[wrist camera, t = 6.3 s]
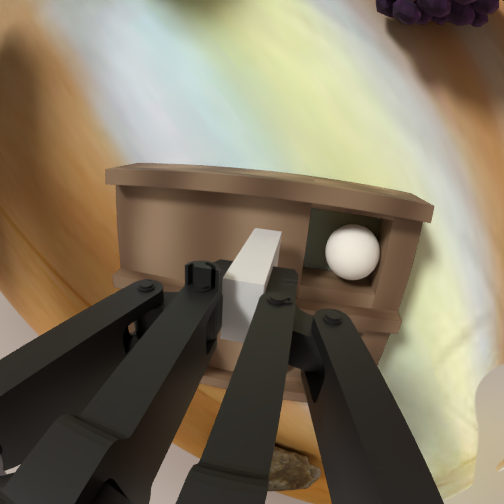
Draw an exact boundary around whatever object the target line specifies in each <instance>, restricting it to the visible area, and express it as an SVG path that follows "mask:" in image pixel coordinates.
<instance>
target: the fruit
mask: <svg viewBox="0 0 504 504" xmlns="http://www.w3.org/2000/svg"><path fill="white" fill-rule="evenodd" d="M503 1H504V0H503ZM376 7H377V12H379V13H382V14H384V15H386V16H388V17H395V18H396V19H398V20H399V21H400V22H402V23H403V24H408V25H413V24H414V23H416V24H423V25H425V24H427V23H428V22H429V21H430V20H431V21H433V22H435V23H437V24H439V25H442V24H444V23H445V22H447V21H449V22H451V23H453V24H455V25H468V24H471V25H472V26H474V27H481V26H482V25H483V24H485V23H486V22H488V16H487V14H493V13H494V12H495V11H496V10H497V9H498V8H499V0H376Z"/></svg>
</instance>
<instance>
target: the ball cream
mask: <svg viewBox="0 0 504 504" xmlns="http://www.w3.org/2000/svg"><path fill="white" fill-rule="evenodd" d="M325 253H326V260H327V263H328V265H329V267H330V268H331V270H332V271H333V272H334V273H335V274H337V275H338V276H340V277H341V278H344V279H348V280H358V279H362V278H364V277H366V276H367V275H369V274H370V273H371V272H372V271H373V270H374V269H375V267H376V266H377V264H378V261H379V257H380V247H379V243H378V241H377V238H376V237H375V235H374V234H373V233H372V232H371V231H370V230H369V229H367V228H366V227H364V226H361V225H358V224H348V225H344V226H341V227H340V228H338V229H336V230H335V231H334V232H333V233H332V234H331V236H330V237H329V239H328V241H327V244H326V250H325Z"/></svg>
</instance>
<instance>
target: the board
mask: <svg viewBox="0 0 504 504" xmlns="http://www.w3.org/2000/svg"><path fill="white" fill-rule="evenodd" d="M105 176H106V184H108V185H116V207H117V227H118V241H119V253H120V264H121V269H119V270H118V271H117V272H115V273H114V274H113V275H112V276H113V284H114V287H116V288H120V289H123V288H125V287H127V286H128V285H130V284H132V283H134V282H136V281H139V280H144V279H152V280H156V281H159V282H161V283H162V285H163V289H164V292H179V291H180V290H181V289H182V288H183V287H184V285H185V264H187V263H189V262H192V261H200V260H201V261H209V262H215V261H217V260H220V259H223V260H230V261H234V260H235V258H236V257H237V255H238V253H239V252H240V250H241V249H242V247H243V246H244V244H245V243H246V241H247V240H248V238H249V236H250V235H251V233H252V232H253V230H254V229H255V228H259V229H267V230H274V231H281V232H282V234H281V242H280V250H279V259H278V267H282V268H289V269H295V271H296V272H297V274H298V283H297V292H296V301H295V302H296V305H297V307H298V308H299V309H300V310H302V311H303V312H305V313H308V314H310V315H313V316H314V314H315V313H316V311H318V310H320V309H327V308H329V309H337V310H340V311H342V312H343V313H345V314H347V315H348V316H349V318H350V319H351V320H352V322H353V324H354V326H355V327H356V329H357V331H358V333H359V334H360V336H361V338H362V340H363V342H364V343H365V345H366V347H367V349H368V351H369V352H370V354H371V356H372V358H373V360H374V361H375V363H376V365H378V362H379V360H380V358H381V355H382V353H383V350H384V348H385V345H386V343H387V340H388V337H389V335H390V333H396V334H397V333H398V331H399V328H400V325H401V323H402V320H401V317H400V315H399V313H398V310H399V307H400V304H401V301H402V298H403V294H404V291H405V288H406V285H407V281H408V278H409V275H410V271H411V268H412V264H413V260H414V257H415V253H416V249H417V245H418V241H419V237H420V232H421V228H422V223H423V222H428V223H431V220H432V215H433V210H434V206H433V205H431V204H430V203H428V202H426V201H424V200H422V199H421V198H419V197H417V196H415V195H413V194H411V193H406V192H402V191H397V190H392V189H386V188H381V187H376V186H370V185H365V184H359V183H353V182H347V181H340V180H334V179H327V178H320V177H313V176H306V175H298V174H290V173H281V172H272V171H263V170H253V169H242V168H230V167H217V166H202V165H183V164H157V163H136V164H130V165H125V166H120V167H115V168H110V169H105ZM311 208H318V209H325V210H332V211H339V212H345V213H351V214H358V215H364V216H370V217H376V218H380V221H379V226H378V231H377V236H376V238H377V241H378V243H379V247H380V257H379V261H378V264H377V266H376V267H375V269H374V270H373V271H372V272H371V273H370V274H369V275H368V276H366V277H364V278H362V279H358V280H348V279H344V278H341V277H340V276H338V275H337V274H335V273H334V272H333V271H329V270H322V269H315V268H307V267H303V262H304V256H305V249H306V242H307V235H308V228H309V221H310V214H311ZM129 330H130V333H132V332H134V331H135V327H134V322H133V323H132V324H130V325H129ZM220 335H221V329H220V331H219V333H218V335H217V347H216V349H215V351H214V353H213V355H212V357H211V360H210V362H209V364H208V366H207V368H206V370H205V373H204V375H203V377H202V379H201V381H200V383H201V384H205V385H209V386H214V387H218V388H223V389H227V388H228V385H229V382H230V379H231V377H232V374H233V371H234V368H235V366H236V363H237V360H238V357H239V355H240V352H241V349H242V346H243V343H241V342H235V341H230V340H225V339H220ZM283 399H284V400H291V401H299V402H307V398H306V394H305V390H304V386H303V382H302V378H301V369H299V368H296V367H293V366H291V365H288V367H287V374H286V381H285V387H284V394H283ZM307 403H308V402H307Z"/></svg>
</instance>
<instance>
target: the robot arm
mask: <svg viewBox="0 0 504 504" xmlns="http://www.w3.org/2000/svg"><path fill="white" fill-rule="evenodd" d="M281 234H282V232H281V231H274V230H267V229H259V228H255V229H254V230H253V232H252V233H251V235H250V236H249V238H248V240H247V241H246V243H245V244H244V246H243V247H242V249H241V250H240V252H239V253H238V255H237V257H236V258H235V260H234V261H230V260H223V259H220V260H217V261H215V262H209V261H201V260H200V261H192V262H189V263H187V264H185V285H184V287H183V288H182V289H181V290H180V291H179V292H164V289H163V285H162V283H161V282H159V281H156V280H152V279H144V280H139V281H136V282H134V283H132V284H130V285H128V286H127V287H125V288H123V289H121V290H119V291H118V292H116V293H114V294H112V295H110V296H109V297H107V298H105V299H103V300H101V301H100V302H98V303H96V304H94V305H93V306H91V307H89V308H87V309H85V310H84V311H82V312H80V313H78V314H77V315H75V316H73V317H71V318H70V319H68V320H66V321H65V322H63V323H61V324H59V325H58V326H56V327H54V328H53V329H51V330H49V331H47V332H46V333H44V334H42V335H41V336H39V337H37V338H36V339H34V340H32V341H31V342H29V343H27V344H25V345H24V346H22V347H20V348H19V349H17V350H16V351H14V352H12V353H11V354H9V355H7V356H6V357H4V358H3V359H1V360H0V504H149V501H150V494H151V486H152V483H153V481H154V479H155V477H156V475H157V472H158V470H159V468H160V466H161V464H162V462H163V460H164V458H165V455H166V453H167V451H168V449H169V447H170V445H171V443H172V441H173V439H174V437H175V434H176V432H177V430H178V428H179V426H180V424H181V422H182V420H183V417H184V415H185V413H186V411H187V409H188V407H189V405H190V403H191V400H192V398H193V396H194V394H195V392H196V390H197V388H198V385H199V383H200V381H201V379H202V377H203V375H204V373H205V370H206V368H207V366H208V364H209V362H210V360H211V357H212V355H213V353H214V351H215V349H216V347H217V335H218V333H219V331H220V329H221V335H220V339H225V340H230V341H235V342H241V343H243V346H242V349H241V352H240V355H239V357H238V360H237V363H236V366H235V368H234V371H233V374H232V377H231V379H230V382H229V385H228V388H227V390H226V393H225V396H224V399H223V401H222V404H221V407H220V409H219V412H218V415H217V417H216V420H215V423H214V425H213V428H212V431H211V433H210V436H209V439H208V441H207V444H206V446H205V449H204V452H203V454H202V457H201V459H200V461H199V463H198V464H195V465H193V467H192V468H191V470H190V471H189V473H188V476H187V478H186V480H185V483H184V485H183V487H182V490H181V492H180V494H179V497H178V500H177V502H176V504H265V500H266V495H267V490H268V484H269V479H268V478H269V472H270V467H271V462H272V457H273V452H274V446H275V441H276V435H277V430H278V424H279V418H280V412H281V406H282V400H283V394H284V387H285V381H286V374H287V367H288V365H291V366H293V367H296V368H299V369H301V378H302V382H303V386H304V390H305V394H306V398H307V402H308V406H309V410H310V414H311V418H312V422H313V426H314V430H315V434H316V438H317V442H318V447H319V451H320V455H321V459H322V463H323V467H324V471H325V476H326V480H327V484H328V488H329V493H330V497H331V501H332V504H444V503H443V500H442V498H441V496H440V493H439V491H438V489H437V486H436V484H435V482H434V480H433V477H432V475H431V473H430V471H429V469H428V466H427V464H426V462H425V460H424V458H423V456H422V454H421V451H420V449H419V447H418V445H417V443H416V441H415V439H414V437H413V435H412V433H411V431H410V429H409V427H408V425H407V423H406V421H405V419H404V417H403V415H402V413H401V411H400V409H399V407H398V405H397V403H396V401H395V399H394V397H393V395H392V393H391V391H390V390H389V388H388V386H387V384H386V382H385V380H384V378H383V376H382V374H381V373H380V371H379V369H378V367H377V365H376V363H375V361H374V360H373V358H372V356H371V354H370V352H369V351H368V349H367V347H366V345H365V343H364V342H363V340H362V338H361V336H360V334H359V333H358V331H357V329H356V327H355V326H354V324H353V322H352V320H351V319H350V318H349V316H348V315H347V314H345V313H343V312H342V311H340V310H337V309H329V308H327V309H320V310H318V311H316V313H315V314H314V316H313V315H310V314H308V313H305V312H303V311H302V310H300V309H299V308H298V307H297V305H296V302H295V301H296V292H297V283H298V274H297V272H296V271H295V269H289V268H282V267H278V259H279V250H280V242H281ZM133 322H134V327H135V331H134V332H132V333H129V329H128V326H129V325H130V324H132V323H133ZM20 464H21V465H20ZM18 465H20V466H19V468H18V469H17V471H16V472H15V473H11V474H6V473H5V470H8V469H11V468H14V467H16V466H18Z"/></svg>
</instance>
